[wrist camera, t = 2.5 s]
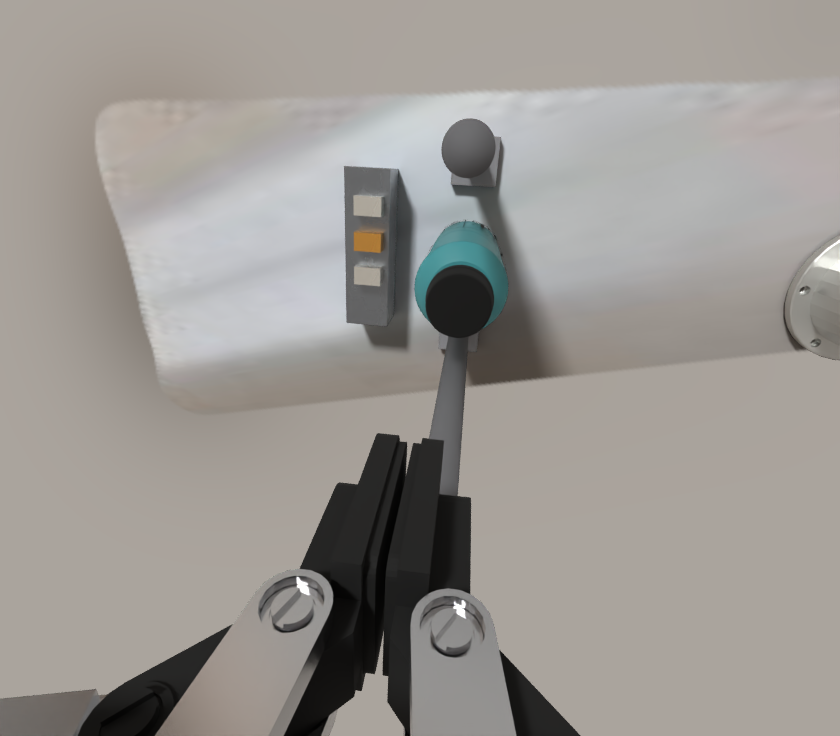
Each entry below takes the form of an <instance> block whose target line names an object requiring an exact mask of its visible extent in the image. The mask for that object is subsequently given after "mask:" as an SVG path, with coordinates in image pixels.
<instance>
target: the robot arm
mask: <svg viewBox="0 0 840 736" xmlns="http://www.w3.org/2000/svg"><path fill="white" fill-rule="evenodd" d="M785 319H786V323H787V327H788V329H789V331H790V333H791V335H792V336H793V338H794V339H795V340H796V341H797V342H798V343H799V344H800V345H801V346H803V347H804V348H806V349H807V350H809V351H811V352H813V353H815V354H817V355H819V356H821V357H825V358H829V359H832V360H840V235H838V236H837V237H835V238H833V239H832V240H830V241H828V242H827V243H826V244H824V245H823V246H822V247H821V248H819V249H818V250H817V251H816V252H814V253H813V254H812V255H811V257H810V258H809V259H808V260H807V261H806V262H805V263H804V264H803V265H802V267H801V268H800V270H799V271H798V273H797V274H796V276H795V277H794V279H793V281H792V283H791V285H790V288H789V290H788V293H787V297H786V301H785ZM443 449H444V440H436V439H427V438H423V439H422V443H421V444H419V443H413V447H412V451H411V457H410V460H409V465H408V469H407V474H406V457H407V442H400V438H399V435H389V434H380V433H378V434H377V435H376V437H375V440H374V443H373V445H372V448H371V451H370V453H369V456H368V459H367V462H366V464H365V467H364V470H363V473H362V475H361V478H360V481H359V483H358V485H355V484H348V483H338V484H337V485H336V487H335V489H334V491H333V494H332V496H331V498H330V500H329V503H328V505H327V507H326V510H325V512H324V514H323V516H322V519H321V521H320V523H319V526H318V528H317V530H316V533H315V535H314V537H313V539H312V542H311V544H310V546H309V549H308V551H307V553H306V556H305V558H304V560H303V563H302V565H301V567H300V569H295V570H287V571H285V572H282V573H279V574H277V575H275V576H273V577H272V578H270V579H269V580H267V581H266V582H264V583H263V584H262V586H261V587H260V588H259V589H258V590H257V591H256V592H255V594H254V595H253V597H252V598H251V599H250V601H249V602H248V604H247V605H246V606H245V608H244V609H243V611H242V612H241V614H240V615H239V617H238V618H237V619H236V621H235V622H234V624H232V625H230V626H229V627H227V628H225V629H223V630H221V631H219V632H217V633H216V634H214V635H212V636H210V637H208V638H206V639H205V640H203V641H201V642H199V643H197V644H195V645H194V646H192V647H190V648H188V649H186V650H185V651H182V652H181V653H179V654H177V655H175V656H173V657H171V658H170V659H168V660H166V661H164V662H162V663H160V664H159V665H157V666H155V667H153V668H151V669H149V670H147V671H146V672H144V673H142V674H140V675H138V676H136V677H135V678H133V679H131V680H129V681H127V682H125V683H124V684H123V685H121V686H119V687H118V688H116V689H115V690H113V691H112V692H110V693H109V694H107V695H98V693H97V690H96V689H92V690H83V691H72V692H64V693H54V694H43V695H33V696H23V697H13V698H3V699H0V736H329V735H330V733H331V730H332V727H333V725H334V722H335V718H336V714H337V709H338V708H340V707H341V706H342V705H344V704H345V703H346V702H348V701H349V700H350V699H351V698H353V697H354V694H355V690H358V691H362V687H363V682H364V677H365V673H371V674H375V671H376V667H377V662H378V657H379V652H380V646H381V641H382V636H383V631H384V644H383V675H385V676H388V703H389V705H390V706H391V708H392V710H393V711H394V712H395V714H396V716H397V717H398V719H399V720H400V722H401V723H402V724H403V726H404V733H403V736H580V735H579V734H578V733H577V731H575V729H574V728H573V727H572V726H571V725H570V724H569V723H568V722H567V721H566V720H565V719H564V718H563V717H562V716H561V715H560V713H559V712H557V711H556V709H555V708H554V707H553V706H552V705H551V704H550V703H549V702H548V701H547V700H546V699H545V698H544V697H543V695H542V694H541V693H540V692H539V691H538V690H537V689H536V688H535V687H534V686H533V685H532V684H531V683H530V682H529V681H528V680H527V679H526V678H525V676H524V675H523V674H522V673H521V672H520V671H519V670H518V669H517V668H516V667H515V666H514V665H513V664H512V663H511V662H510V661H509V659H508V658H507V657H506V656H505V655H504V654H503V653H502V652H501V651H500V650H499V647H498V642H497V638H496V632H495V627H494V624H493V621H492V618H491V615H490V613H489V611H488V610H487V609H486V607H485V606H484V605H483V604H482V602H480V601H479V600H478V599H476V598H475V597H474V596H472V595H471V594H470V553H471V551H470V550H471V498H469V497H460V496H451V495H443V494H440V483H441V471H442V460H443Z"/></svg>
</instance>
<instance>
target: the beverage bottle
mask: <svg viewBox="0 0 840 736" xmlns="http://www.w3.org/2000/svg"><path fill="white" fill-rule="evenodd" d="M453 223H454V222H453ZM485 226H486V225H485ZM445 228H446V227H445ZM487 228H488V227H487ZM487 228H485V227H484V225H482V224H478V222H477V223H475V222H474V220H473V221H472V222H470V221H466V220H465V221H464V222H460V221H459V222H457V223H455V224H453V225H452V224H451V226H449V227H448V228H446V229H444V231H443V232H442V233H441V234H440V236H439V237H438V239H437V240H436V242H435V244H434V246H433V248H432V249H431V252H430V253H429V255H428V256H427V257H426V258H425V259H424V261H423V262H422V264H421V266H420V267H419V270H418V272H417V275H416V279H415V297H416V301H417V304H418V307H419V309H420V311H421V312H422V314H423V315H424V316H425V318H426V319H427V320H428V321H429V322H430V323H431V324H432V325H433V326H434V328H435V329H436V330H438V331H439V332H440V333H442V334H444V335H446V336H449V337H453V338H465V337H469V336H471V335H474V334H476V333H477V332H479V331H480V330H481V329H483V328H485V327H486V326H488V325H489V324H490V323H492V322H493V321H494V320H495V319H496V318H497V317H498V315H499V314H500V313H501V311H502V309H503V308H504V305H505V303H506V300H507V296H508V278H507V274H506V271H505V270H506V267H505V268H504V266H503V262H502V258H501V256H502V253H501V255H500V251H499V248H498V245H497V242H496V240H498V239H496V236H495V235H494V236H493V235H492V233H491V232H492V231H491V230H490V229H489V230H490V231H491V232H490V231H489V230H488V229H487ZM494 237H495V238H494ZM429 251H430V250H429ZM501 252H502V251H501ZM502 257H503V256H502Z"/></svg>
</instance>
